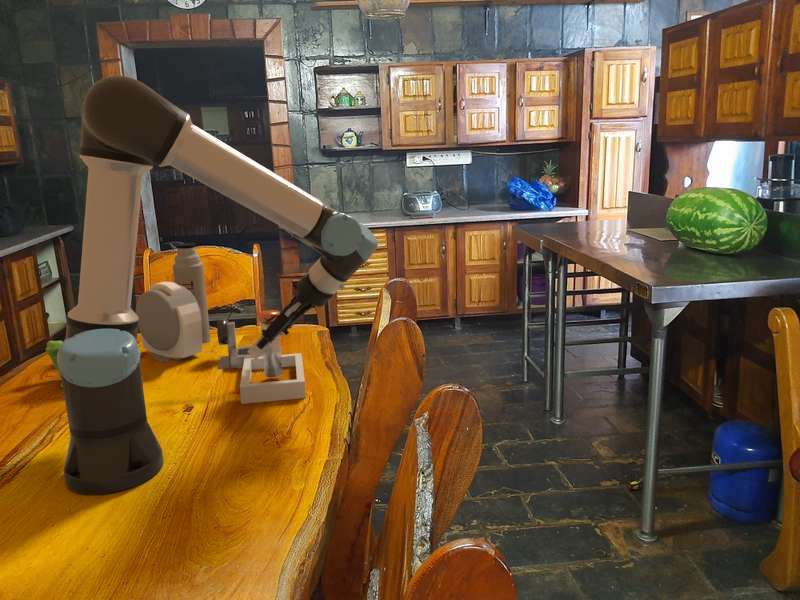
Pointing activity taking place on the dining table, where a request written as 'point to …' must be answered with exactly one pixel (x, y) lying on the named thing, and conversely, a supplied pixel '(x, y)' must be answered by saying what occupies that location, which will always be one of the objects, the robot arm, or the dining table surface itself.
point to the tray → (275, 388)
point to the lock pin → (271, 346)
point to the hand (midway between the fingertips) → (257, 351)
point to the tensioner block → (231, 346)
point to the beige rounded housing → (169, 322)
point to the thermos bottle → (192, 281)
